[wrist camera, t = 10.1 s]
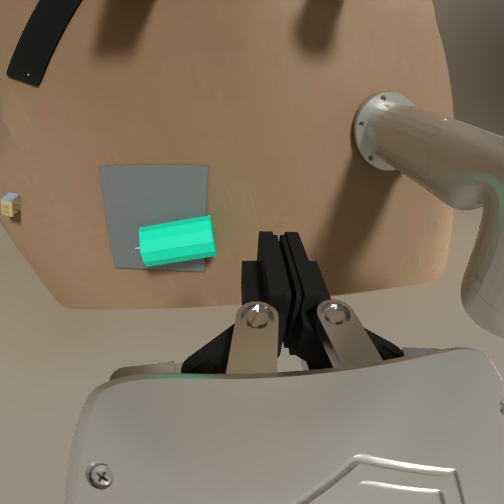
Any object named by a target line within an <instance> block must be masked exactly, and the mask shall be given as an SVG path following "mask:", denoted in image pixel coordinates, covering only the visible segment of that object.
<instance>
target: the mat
mask: <svg viewBox="0 0 504 504" xmlns="http://www.w3.org/2000/svg"><path fill="white" fill-rule="evenodd" d="M100 172H101V183H102V192H103V200H104V208H105V215H106V222H107V228H108V234H109V240H110V245H111V250H112V256H113V261H114V265H115V268H133V269H153V270H175V271H200V272H205V258H200V259H194V260H187V261H181V262H174V263H168V264H162V265H155V266H149V267H146V265H145V264H144V262H143V259H142V256H141V253H140V248H139V247H140V240H139V228H140V227H146V226H151V225H156V224H162V223H168V222H173V221H179V220H185V219H191V218H197V217H203V216H206V201H207V179H208V166H207V165H111V166H101V167H100ZM135 248H138V249H135Z"/></svg>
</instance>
